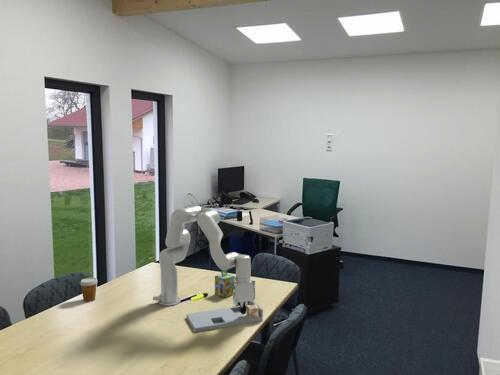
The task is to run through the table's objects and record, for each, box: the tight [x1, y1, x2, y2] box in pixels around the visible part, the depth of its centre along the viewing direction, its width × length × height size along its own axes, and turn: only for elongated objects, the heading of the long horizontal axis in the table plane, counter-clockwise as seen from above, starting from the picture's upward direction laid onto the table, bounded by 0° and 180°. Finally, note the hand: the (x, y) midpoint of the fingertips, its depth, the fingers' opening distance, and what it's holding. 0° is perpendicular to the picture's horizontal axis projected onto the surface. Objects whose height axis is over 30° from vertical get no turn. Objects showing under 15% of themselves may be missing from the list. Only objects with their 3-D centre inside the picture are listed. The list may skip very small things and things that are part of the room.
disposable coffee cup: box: [79, 277, 99, 303], centre depth 233 cm, size 10×10×12 cm
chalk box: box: [214, 270, 236, 298], centre depth 244 cm, size 9×9×15 cm
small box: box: [251, 280, 256, 301], centre depth 235 cm, size 11×6×10 cm, turn 168°
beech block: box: [246, 305, 258, 319], centre depth 208 cm, size 5×5×5 cm
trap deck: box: [185, 300, 264, 333], centre depth 208 cm, size 36×18×6 cm, turn 113°
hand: (243, 313), depth 207 cm, fingers closed
